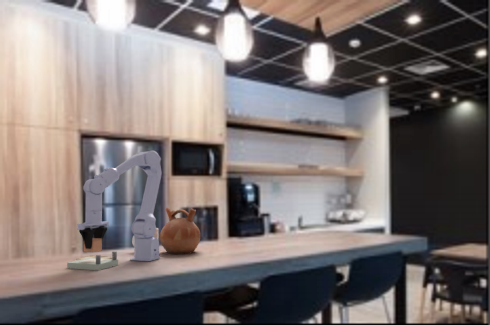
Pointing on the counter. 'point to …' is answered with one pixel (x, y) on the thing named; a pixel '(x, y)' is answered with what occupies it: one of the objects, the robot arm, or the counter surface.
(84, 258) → the pallet
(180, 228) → the jug
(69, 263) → the dock
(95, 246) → the orange block
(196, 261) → the counter surface
